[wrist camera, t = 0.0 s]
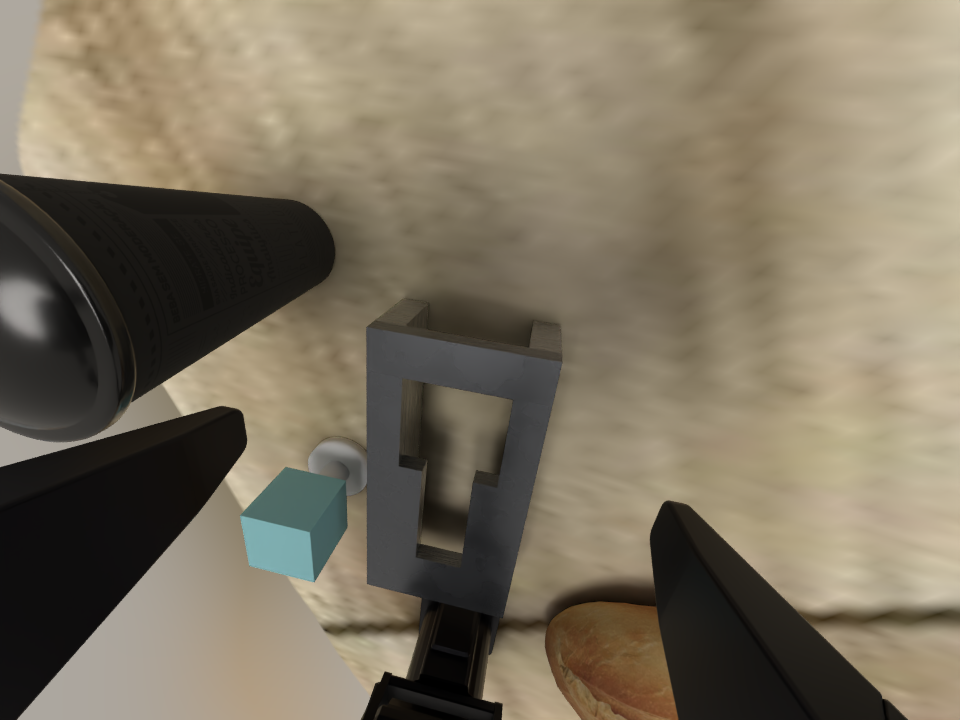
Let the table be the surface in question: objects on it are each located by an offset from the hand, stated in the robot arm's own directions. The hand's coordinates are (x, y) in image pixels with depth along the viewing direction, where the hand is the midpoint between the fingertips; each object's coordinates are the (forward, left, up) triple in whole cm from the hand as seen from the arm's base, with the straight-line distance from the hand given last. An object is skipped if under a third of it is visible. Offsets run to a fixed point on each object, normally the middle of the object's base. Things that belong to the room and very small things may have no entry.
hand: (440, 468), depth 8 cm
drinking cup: (+1, +12, -15) cm, 19 cm away
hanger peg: (-14, +10, -15) cm, 23 cm away
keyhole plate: (-10, +1, -15) cm, 18 cm away
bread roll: (-23, -14, -15) cm, 31 cm away
